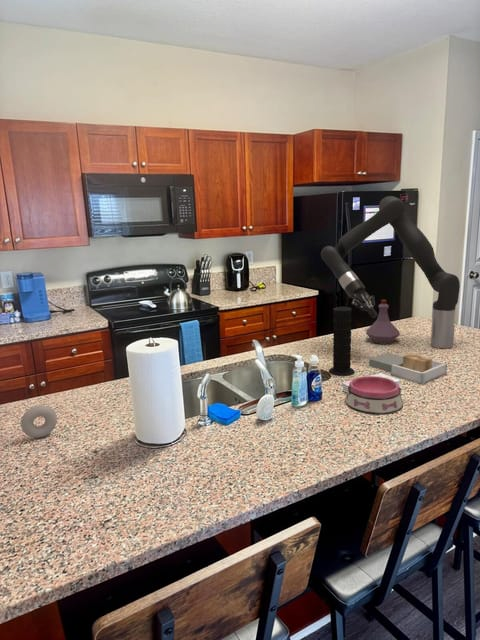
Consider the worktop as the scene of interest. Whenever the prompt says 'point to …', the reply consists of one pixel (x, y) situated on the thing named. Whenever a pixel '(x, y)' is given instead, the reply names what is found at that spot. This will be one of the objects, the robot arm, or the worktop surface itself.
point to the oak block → (417, 362)
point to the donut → (32, 415)
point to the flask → (383, 327)
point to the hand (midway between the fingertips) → (375, 316)
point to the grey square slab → (386, 361)
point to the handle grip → (342, 342)
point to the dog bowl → (374, 395)
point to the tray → (420, 377)
